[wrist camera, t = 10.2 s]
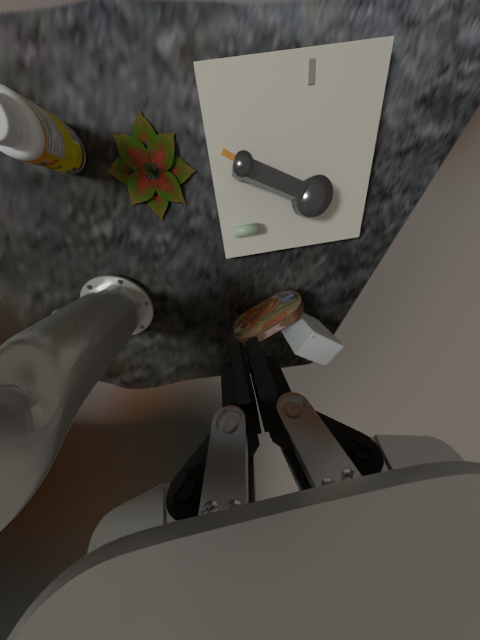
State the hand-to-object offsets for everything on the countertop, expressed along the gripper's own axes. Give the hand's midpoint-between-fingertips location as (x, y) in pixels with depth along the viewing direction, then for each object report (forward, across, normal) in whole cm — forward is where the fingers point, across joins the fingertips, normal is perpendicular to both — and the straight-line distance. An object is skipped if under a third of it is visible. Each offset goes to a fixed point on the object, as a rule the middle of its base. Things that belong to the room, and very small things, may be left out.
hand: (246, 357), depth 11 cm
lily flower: (+27, +8, -15) cm, 32 cm away
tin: (+27, -6, +11) cm, 30 cm away
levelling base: (+26, -13, -12) cm, 32 cm away
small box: (+27, -14, +16) cm, 34 cm away
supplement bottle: (+27, +18, -19) cm, 38 cm away
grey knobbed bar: (+24, -10, -10) cm, 28 cm away
